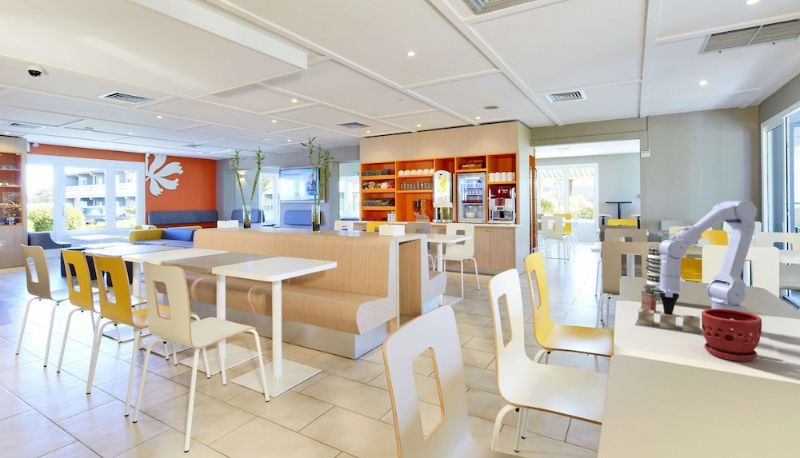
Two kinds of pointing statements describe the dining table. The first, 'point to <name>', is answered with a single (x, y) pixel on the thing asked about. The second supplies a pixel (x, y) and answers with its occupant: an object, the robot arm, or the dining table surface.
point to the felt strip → (678, 329)
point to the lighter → (648, 299)
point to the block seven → (646, 317)
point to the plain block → (668, 320)
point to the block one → (691, 323)
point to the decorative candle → (654, 270)
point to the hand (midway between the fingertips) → (668, 314)
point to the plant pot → (731, 333)
